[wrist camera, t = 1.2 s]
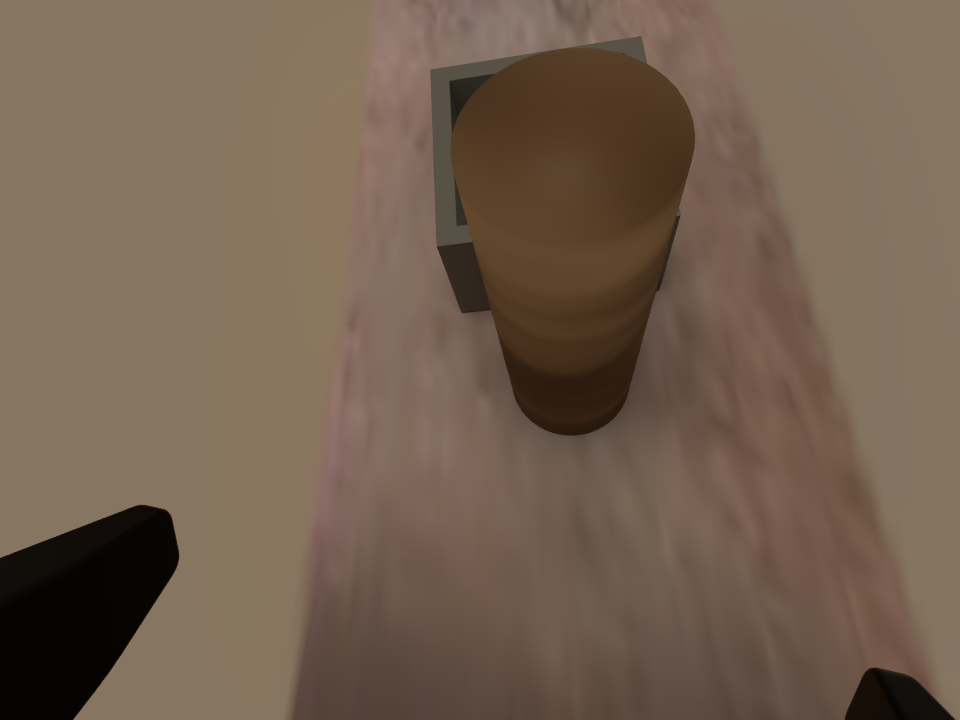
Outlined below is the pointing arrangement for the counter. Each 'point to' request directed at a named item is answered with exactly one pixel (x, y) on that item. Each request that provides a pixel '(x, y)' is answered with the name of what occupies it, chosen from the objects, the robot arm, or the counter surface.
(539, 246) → the walnut peg
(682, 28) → the counter surface
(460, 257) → the socket cup
